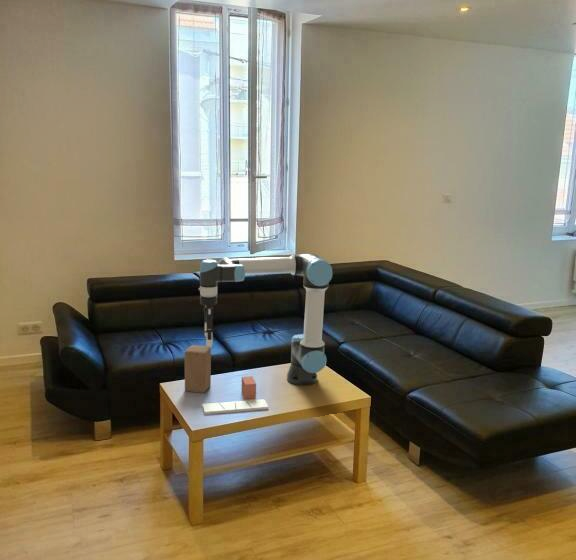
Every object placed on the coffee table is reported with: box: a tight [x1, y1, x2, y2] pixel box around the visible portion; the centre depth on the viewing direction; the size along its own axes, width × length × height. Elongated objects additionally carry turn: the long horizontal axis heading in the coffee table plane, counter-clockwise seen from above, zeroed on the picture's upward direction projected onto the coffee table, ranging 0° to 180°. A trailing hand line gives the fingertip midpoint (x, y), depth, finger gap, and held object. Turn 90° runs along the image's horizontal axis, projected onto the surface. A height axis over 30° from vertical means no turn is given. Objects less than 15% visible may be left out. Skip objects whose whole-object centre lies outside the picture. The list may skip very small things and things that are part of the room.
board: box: [202, 398, 269, 415], centre depth 255 cm, size 28×8×1 cm, turn 105°
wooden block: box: [184, 344, 212, 394], centre depth 272 cm, size 10×10×20 cm
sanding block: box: [241, 376, 257, 401], centre depth 267 cm, size 5×9×8 cm, turn 15°
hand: (208, 341), depth 259 cm, fingers open, 13 cm apart
